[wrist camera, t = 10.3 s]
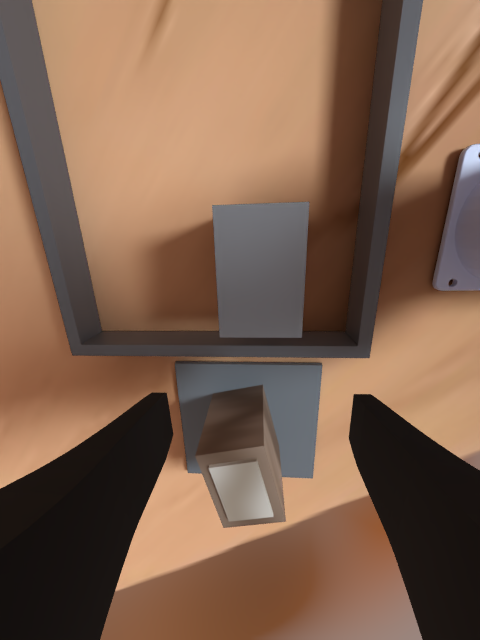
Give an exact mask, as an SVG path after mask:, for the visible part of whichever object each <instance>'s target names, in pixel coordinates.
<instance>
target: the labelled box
mask: <svg viewBox="0 0 480 640" xmlns="http://www.w3.org/2000/svg"><path fill="white" fill-rule="evenodd" d="M195 457H196V459H197V462H198V464H199V467H200V470H201V472H202V475H203V477H204V480H205V482H206V485H207V487H208V490H209V492H210V495H211V497H212V500H213V502H214V505H215V507H216V510H217V513H218V515H219V518H220V520H221V523H222V525H223V528H227V527H237V526H247V525H257V524H267V523H276V522H286V519H285V508H284V496H283V485H282V474H281V462H280V451H279V444H278V440H277V436H276V432H275V429H274V425H273V421H272V417H271V414H270V410H269V406H268V402H267V398H266V395H265V391H264V387H263V385H257V386H252V387H246V388H241V389H235V390H230V391H224V392H219V393H214V394H213V395H212V399H211V402H210V406H209V409H208V413H207V416H206V420H205V423H204V427H203V430H202V434H201V437H200V441H199V444H198V448H197V451H196V455H195Z"/></svg>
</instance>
